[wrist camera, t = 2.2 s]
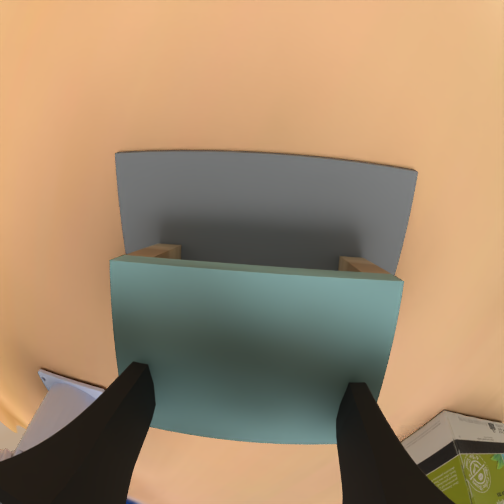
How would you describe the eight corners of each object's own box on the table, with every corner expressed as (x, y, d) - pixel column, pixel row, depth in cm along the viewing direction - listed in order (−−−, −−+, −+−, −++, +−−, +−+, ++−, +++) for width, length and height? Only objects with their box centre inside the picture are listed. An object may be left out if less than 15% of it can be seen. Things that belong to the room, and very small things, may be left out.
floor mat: (348, 396, 20) (348, 400, 20) (156, 380, 21) (155, 384, 20) (414, 169, 13) (417, 172, 12) (118, 152, 13) (114, 153, 13)
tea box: (505, 418, 23) (538, 512, 10) (447, 461, 27) (466, 550, 14) (444, 406, 21) (482, 547, 8) (372, 457, 25) (384, 578, 12)
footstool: (342, 383, 15) (363, 442, 10) (161, 368, 16) (126, 421, 11) (363, 257, 14) (403, 281, 9) (158, 243, 15) (109, 260, 10)
